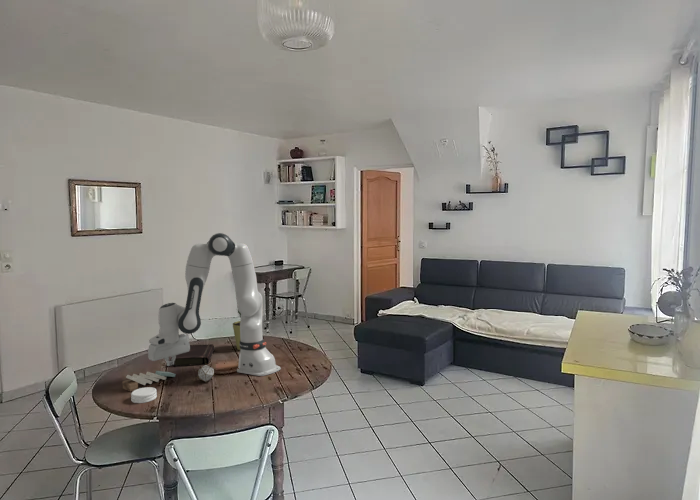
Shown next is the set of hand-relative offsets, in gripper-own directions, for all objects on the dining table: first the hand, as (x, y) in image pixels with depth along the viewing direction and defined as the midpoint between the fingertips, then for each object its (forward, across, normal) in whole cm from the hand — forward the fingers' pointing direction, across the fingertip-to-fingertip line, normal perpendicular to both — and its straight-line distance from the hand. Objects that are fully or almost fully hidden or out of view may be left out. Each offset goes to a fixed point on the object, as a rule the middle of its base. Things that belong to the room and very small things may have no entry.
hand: (170, 365), depth 223 cm
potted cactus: (+6, -54, -9) cm, 55 cm away
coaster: (+6, +22, +16) cm, 28 cm away
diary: (+6, -24, -16) cm, 30 cm away
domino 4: (+5, +4, 0) cm, 6 cm away
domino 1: (+5, +14, 0) cm, 15 cm away
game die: (+6, -6, +20) cm, 22 cm away
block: (+6, +20, 0) cm, 21 cm away
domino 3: (+5, +8, 0) cm, 9 cm away
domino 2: (+5, +11, 0) cm, 12 cm away
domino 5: (+5, -1, 0) cm, 5 cm away
